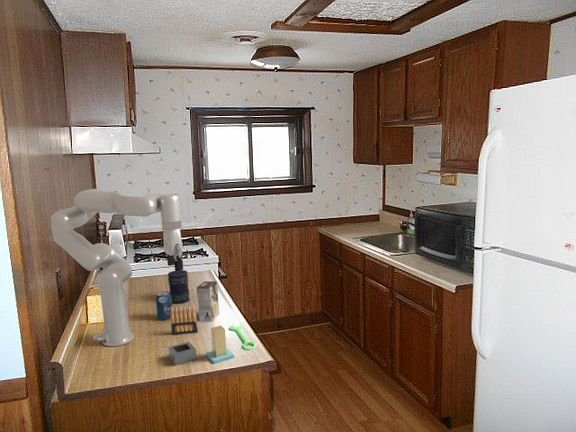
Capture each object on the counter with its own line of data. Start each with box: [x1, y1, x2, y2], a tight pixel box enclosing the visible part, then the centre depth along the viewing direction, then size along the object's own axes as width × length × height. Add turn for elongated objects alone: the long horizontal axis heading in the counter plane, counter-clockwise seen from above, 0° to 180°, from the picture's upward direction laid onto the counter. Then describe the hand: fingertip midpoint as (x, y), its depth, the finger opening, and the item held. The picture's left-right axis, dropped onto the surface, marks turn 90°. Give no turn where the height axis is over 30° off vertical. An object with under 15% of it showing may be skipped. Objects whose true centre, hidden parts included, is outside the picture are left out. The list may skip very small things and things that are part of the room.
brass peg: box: [210, 325, 227, 357], centre depth 166 cm, size 4×4×10 cm
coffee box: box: [196, 280, 220, 322], centre depth 205 cm, size 9×6×16 cm
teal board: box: [205, 347, 235, 364], centre depth 167 cm, size 8×8×1 cm
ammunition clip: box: [170, 304, 198, 336], centre depth 189 cm, size 11×2×12 cm, turn 97°
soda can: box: [155, 290, 173, 321], centre depth 207 cm, size 7×7×12 cm
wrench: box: [229, 325, 257, 351], centre depth 183 cm, size 25×2×5 cm
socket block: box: [167, 341, 198, 366], centre depth 167 cm, size 8×8×4 cm
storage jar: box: [167, 269, 190, 305], centre depth 229 cm, size 10×10×15 cm
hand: (175, 267), depth 179 cm, fingers open, 9 cm apart
